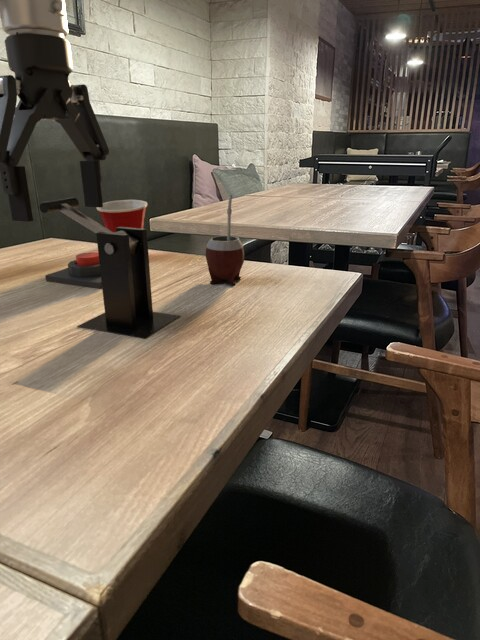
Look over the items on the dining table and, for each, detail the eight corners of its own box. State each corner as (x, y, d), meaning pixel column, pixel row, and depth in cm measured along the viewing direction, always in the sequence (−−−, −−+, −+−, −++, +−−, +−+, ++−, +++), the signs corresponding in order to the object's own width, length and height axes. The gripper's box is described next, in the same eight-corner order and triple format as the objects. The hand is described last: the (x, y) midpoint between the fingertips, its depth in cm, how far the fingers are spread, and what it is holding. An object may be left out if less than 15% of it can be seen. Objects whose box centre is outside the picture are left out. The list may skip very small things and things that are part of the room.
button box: (46, 287, 88) (43, 265, 87) (84, 273, 97) (81, 253, 96) (100, 295, 84) (98, 272, 83) (135, 279, 93) (133, 259, 91)
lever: (37, 213, 65) (41, 197, 64) (69, 207, 70) (72, 192, 69) (114, 262, 63) (119, 246, 62) (141, 252, 68) (146, 237, 67)
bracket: (78, 334, 67) (64, 234, 63) (118, 313, 75) (109, 222, 70) (145, 346, 63) (136, 240, 58) (180, 323, 71) (175, 227, 66)
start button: (71, 266, 88) (70, 256, 88) (88, 260, 92) (87, 251, 91) (91, 268, 87) (90, 258, 86) (107, 262, 90) (106, 253, 90)
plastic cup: (91, 262, 106) (85, 205, 101) (117, 251, 115) (112, 199, 111) (136, 265, 103) (132, 207, 98) (159, 254, 112) (156, 200, 108)
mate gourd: (217, 289, 87) (215, 202, 81) (198, 278, 93) (195, 197, 88) (253, 282, 90) (253, 199, 85) (232, 273, 97) (231, 194, 91)
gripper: (-31, 12, 48) (8, 230, 55) (124, 49, 69) (137, 203, 77) (-82, 20, 51) (-39, 226, 58) (82, 53, 72) (98, 201, 80)
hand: (61, 213), depth 67 cm, fingers open, 13 cm apart
